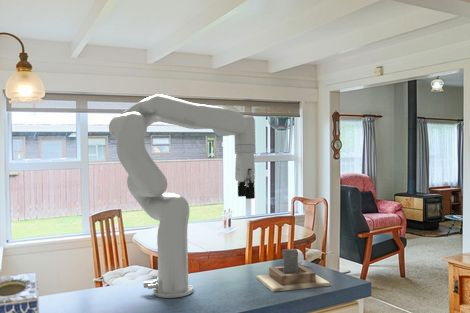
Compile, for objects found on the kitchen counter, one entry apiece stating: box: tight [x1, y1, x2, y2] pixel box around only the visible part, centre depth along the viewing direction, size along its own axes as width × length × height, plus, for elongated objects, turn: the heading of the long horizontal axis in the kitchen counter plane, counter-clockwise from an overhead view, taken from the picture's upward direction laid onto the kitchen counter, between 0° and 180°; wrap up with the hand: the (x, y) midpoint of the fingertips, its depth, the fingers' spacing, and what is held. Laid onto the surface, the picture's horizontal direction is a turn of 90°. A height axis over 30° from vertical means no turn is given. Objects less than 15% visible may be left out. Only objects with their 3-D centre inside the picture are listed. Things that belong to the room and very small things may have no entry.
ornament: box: [296, 248, 305, 265], centre depth 168 cm, size 6×7×7 cm
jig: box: [256, 264, 331, 292], centre depth 146 cm, size 20×16×4 cm
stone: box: [281, 248, 299, 274], centre depth 146 cm, size 3×6×10 cm, turn 83°
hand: (246, 197), depth 154 cm, fingers open, 9 cm apart
